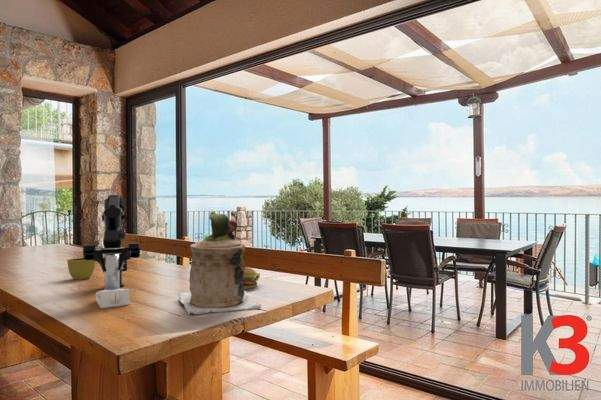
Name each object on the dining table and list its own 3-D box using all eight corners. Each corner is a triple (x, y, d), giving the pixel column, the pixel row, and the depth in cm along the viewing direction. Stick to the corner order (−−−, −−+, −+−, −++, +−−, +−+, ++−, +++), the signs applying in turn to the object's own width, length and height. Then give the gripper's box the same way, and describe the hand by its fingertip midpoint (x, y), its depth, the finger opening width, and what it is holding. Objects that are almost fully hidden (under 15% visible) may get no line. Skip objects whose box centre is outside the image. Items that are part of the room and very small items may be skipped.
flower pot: (96, 278, 191) (96, 258, 191) (77, 281, 184) (77, 261, 184) (85, 276, 196) (85, 257, 196) (66, 279, 188) (66, 259, 188)
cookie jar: (187, 317, 128) (187, 213, 128) (177, 299, 151) (177, 211, 151) (263, 308, 138) (263, 212, 138) (243, 293, 160) (243, 210, 160)
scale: (93, 300, 148) (93, 286, 148) (125, 297, 154) (125, 283, 154) (98, 308, 138) (98, 293, 138) (131, 304, 143) (131, 289, 143)
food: (251, 291, 163) (251, 271, 163) (220, 288, 168) (220, 269, 168) (266, 284, 176) (266, 266, 176) (237, 282, 181) (237, 264, 181)
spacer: (107, 287, 149) (107, 253, 149) (121, 286, 149) (121, 253, 149) (102, 290, 144) (102, 255, 144) (116, 290, 145) (116, 255, 144)
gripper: (83, 222, 147) (80, 258, 136) (140, 221, 154) (140, 255, 144) (85, 242, 154) (82, 277, 144) (139, 240, 161) (140, 273, 151)
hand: (111, 270), depth 145 cm, fingers closed on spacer, 5 cm apart
